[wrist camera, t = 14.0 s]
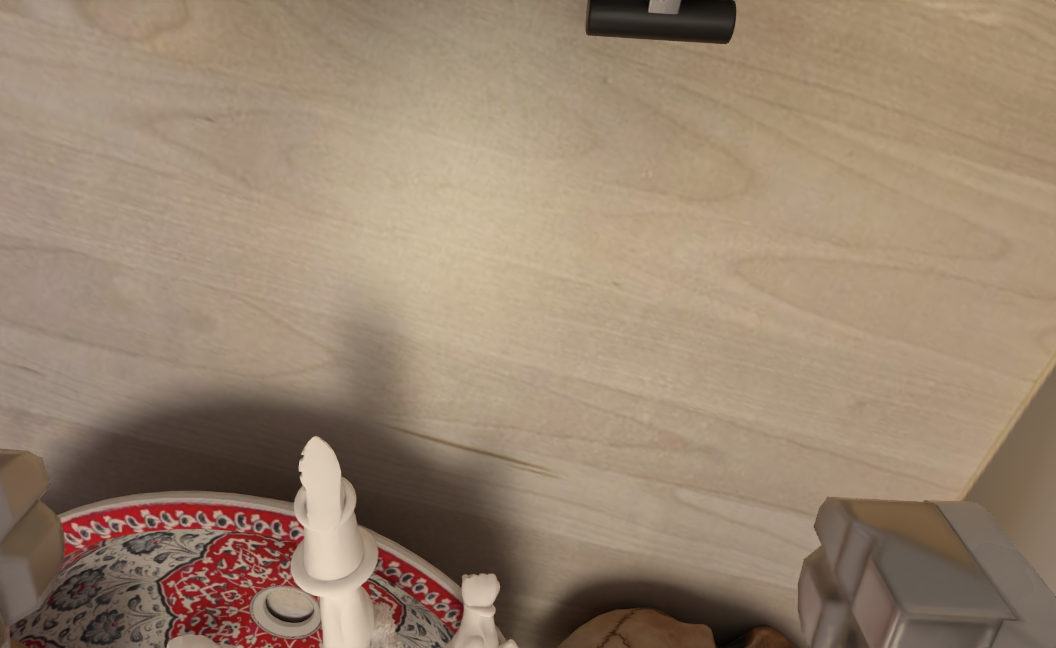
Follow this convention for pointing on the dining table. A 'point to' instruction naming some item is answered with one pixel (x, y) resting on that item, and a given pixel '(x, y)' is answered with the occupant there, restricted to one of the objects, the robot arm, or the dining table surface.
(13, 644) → the toy food set
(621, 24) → the switch lever
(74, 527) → the ceramic bowl
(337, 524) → the figurine
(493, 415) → the dining table surface
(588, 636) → the coin bank
